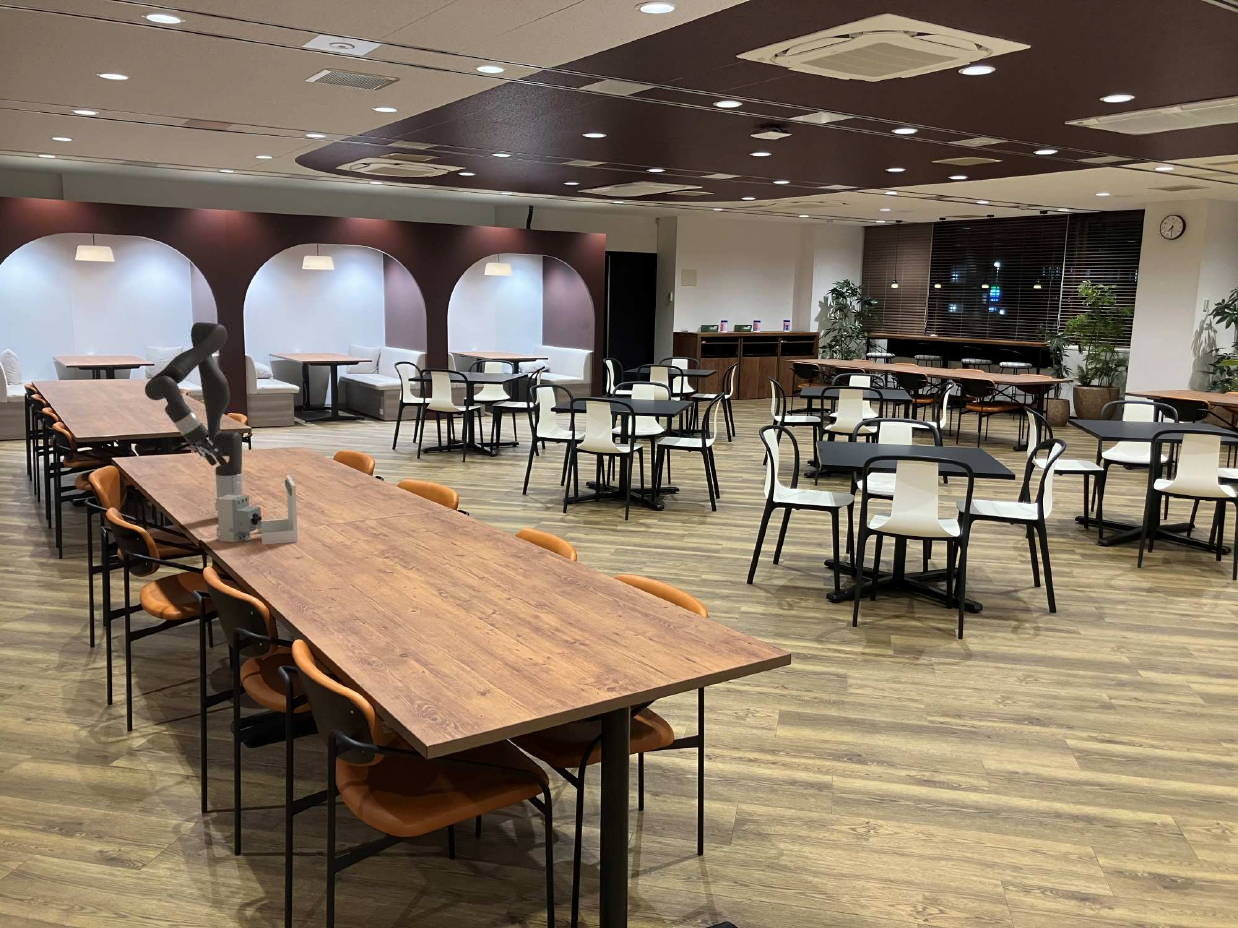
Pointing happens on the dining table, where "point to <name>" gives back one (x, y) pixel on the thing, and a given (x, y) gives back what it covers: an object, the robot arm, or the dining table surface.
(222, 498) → the circuit breaker
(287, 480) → the panel bay
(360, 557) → the dining table surface
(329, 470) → the dining table surface
